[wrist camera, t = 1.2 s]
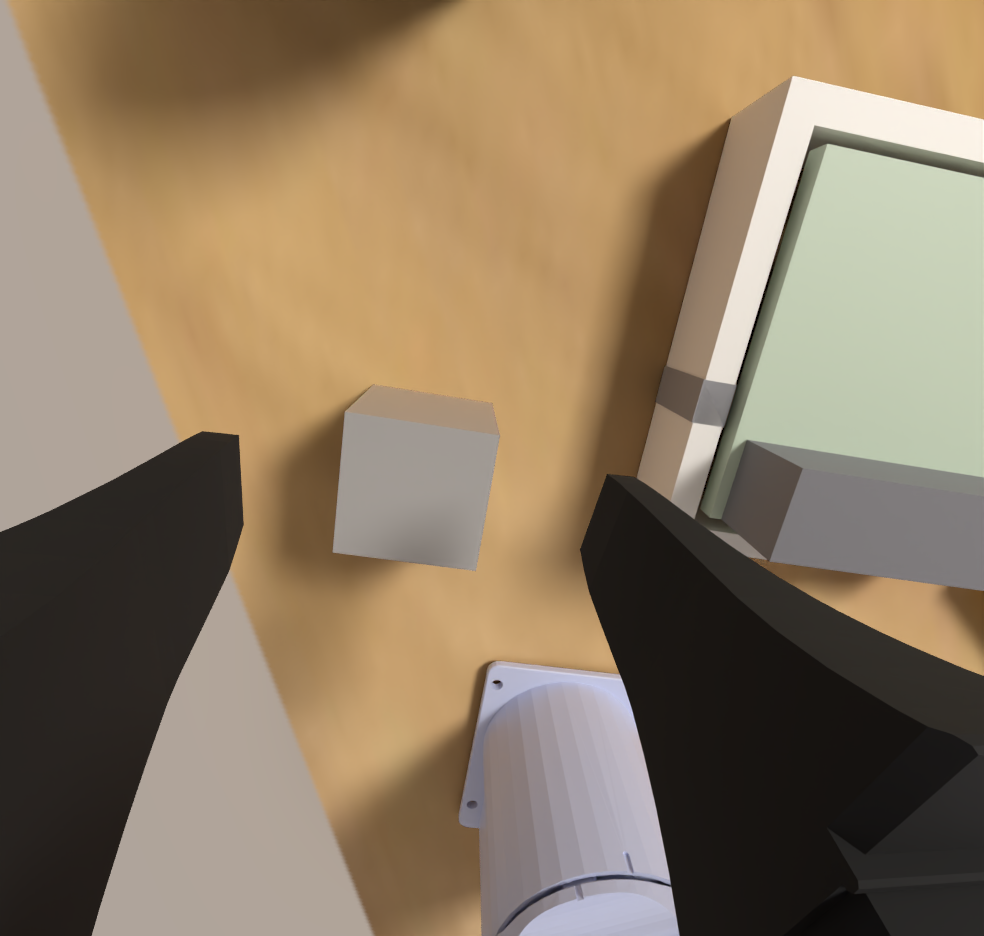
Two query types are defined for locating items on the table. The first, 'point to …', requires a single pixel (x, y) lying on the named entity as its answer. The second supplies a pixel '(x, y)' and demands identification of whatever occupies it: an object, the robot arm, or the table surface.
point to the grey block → (415, 477)
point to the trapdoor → (866, 379)
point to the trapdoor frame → (767, 256)
